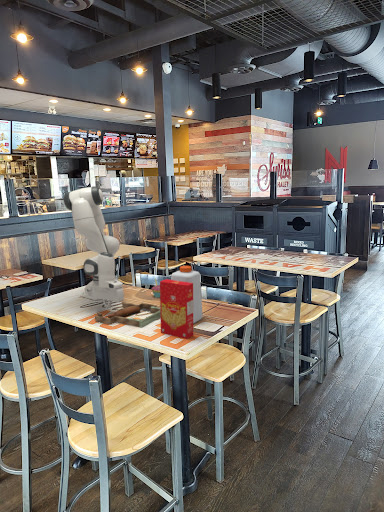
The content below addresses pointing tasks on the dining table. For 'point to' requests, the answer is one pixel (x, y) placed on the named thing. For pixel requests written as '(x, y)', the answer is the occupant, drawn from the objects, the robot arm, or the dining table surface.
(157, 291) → the cupcake
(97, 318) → the trap lane
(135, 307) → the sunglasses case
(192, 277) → the plastic bottle
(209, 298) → the dining table surface
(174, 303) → the food packaging
